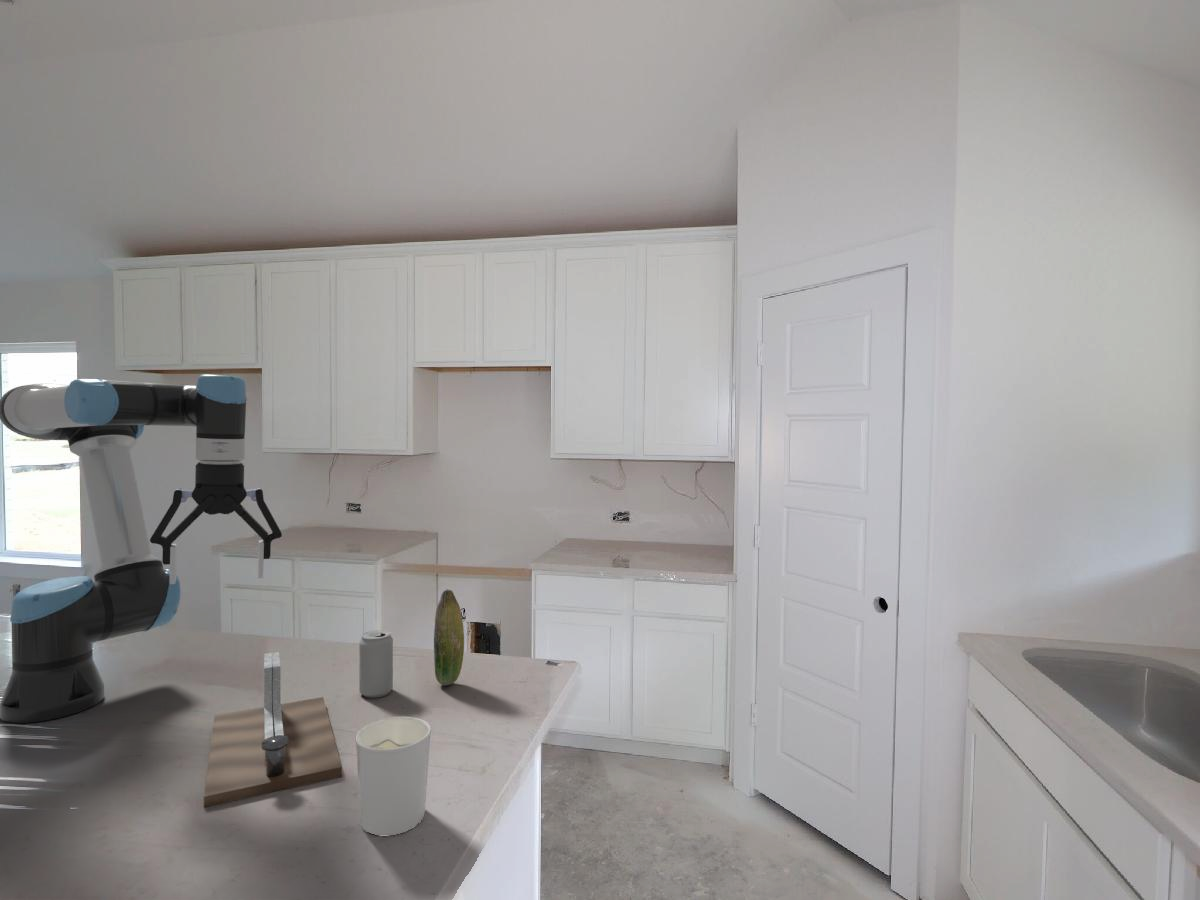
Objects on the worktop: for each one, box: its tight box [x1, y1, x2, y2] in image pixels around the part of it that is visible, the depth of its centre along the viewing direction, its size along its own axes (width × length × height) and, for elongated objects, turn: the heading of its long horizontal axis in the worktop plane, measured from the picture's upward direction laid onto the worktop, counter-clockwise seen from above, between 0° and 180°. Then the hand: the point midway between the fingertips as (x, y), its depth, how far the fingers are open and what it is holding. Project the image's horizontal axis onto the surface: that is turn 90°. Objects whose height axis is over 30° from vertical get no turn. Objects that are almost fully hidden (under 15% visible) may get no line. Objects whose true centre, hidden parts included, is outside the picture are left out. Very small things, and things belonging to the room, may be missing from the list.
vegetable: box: [433, 588, 465, 686], centre depth 135 cm, size 6×6×20 cm
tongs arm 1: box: [263, 652, 273, 766], centre depth 109 cm, size 23×1×10 cm, turn 28°
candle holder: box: [355, 716, 432, 836], centre depth 89 cm, size 10×10×12 cm
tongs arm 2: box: [270, 651, 285, 762], centre depth 110 cm, size 23×1×10 cm, turn 28°
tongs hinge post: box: [262, 735, 289, 777], centre depth 97 cm, size 4×4×5 cm
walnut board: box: [203, 696, 342, 808], centre depth 108 cm, size 29×18×2 cm, turn 28°
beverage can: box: [358, 629, 394, 699], centre depth 131 cm, size 6×6×12 cm
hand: (217, 579), depth 117 cm, fingers open, 13 cm apart
